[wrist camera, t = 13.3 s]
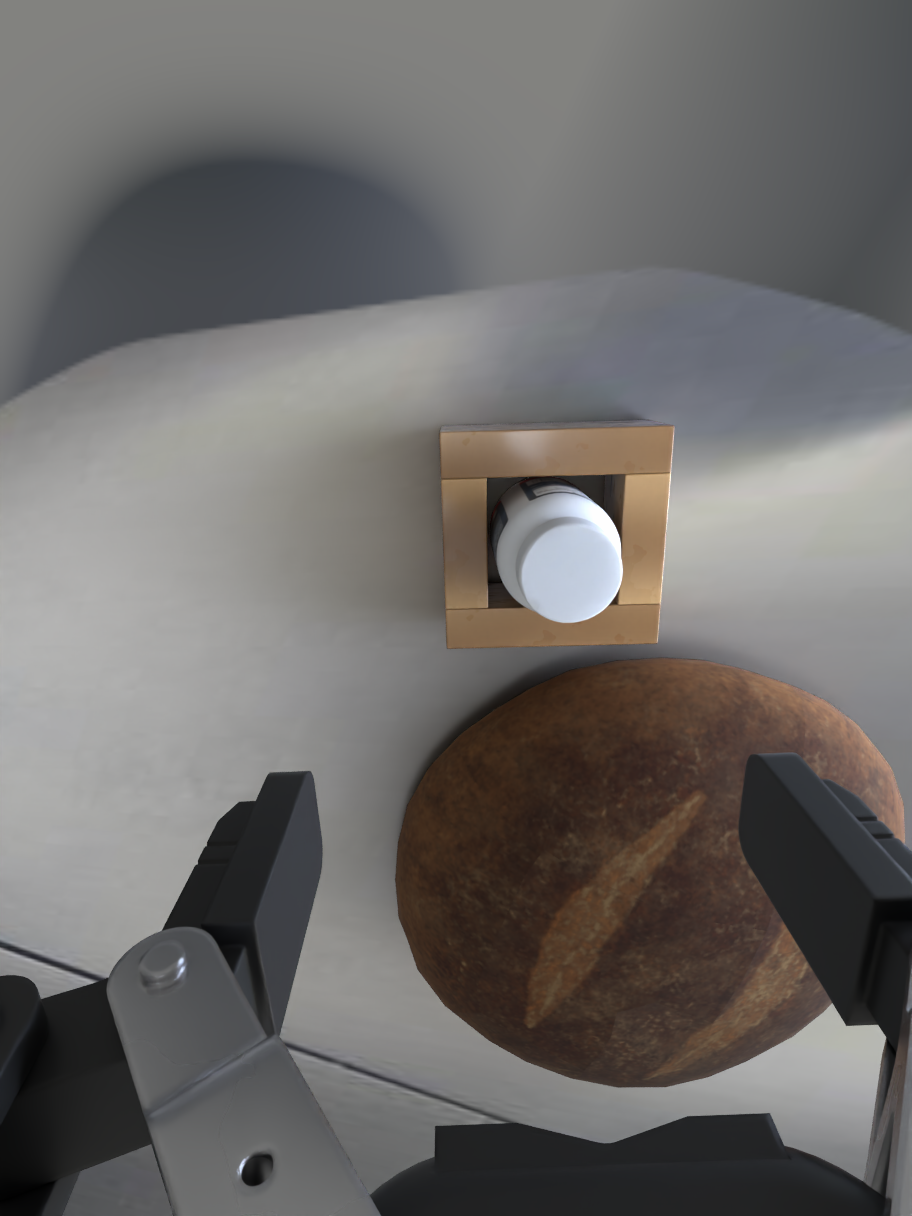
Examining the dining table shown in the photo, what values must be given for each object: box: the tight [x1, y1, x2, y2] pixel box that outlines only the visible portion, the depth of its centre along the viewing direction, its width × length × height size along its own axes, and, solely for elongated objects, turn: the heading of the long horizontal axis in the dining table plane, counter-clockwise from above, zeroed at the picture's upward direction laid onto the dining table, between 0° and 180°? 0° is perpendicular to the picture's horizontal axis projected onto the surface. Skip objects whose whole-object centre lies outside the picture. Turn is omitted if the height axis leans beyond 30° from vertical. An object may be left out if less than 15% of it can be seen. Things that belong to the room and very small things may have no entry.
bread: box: [395, 658, 905, 1087], centre depth 36 cm, size 28×27×9 cm
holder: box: [439, 420, 675, 649], centre depth 31 cm, size 10×10×4 cm
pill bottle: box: [489, 476, 623, 623], centre depth 29 cm, size 5×5×9 cm
